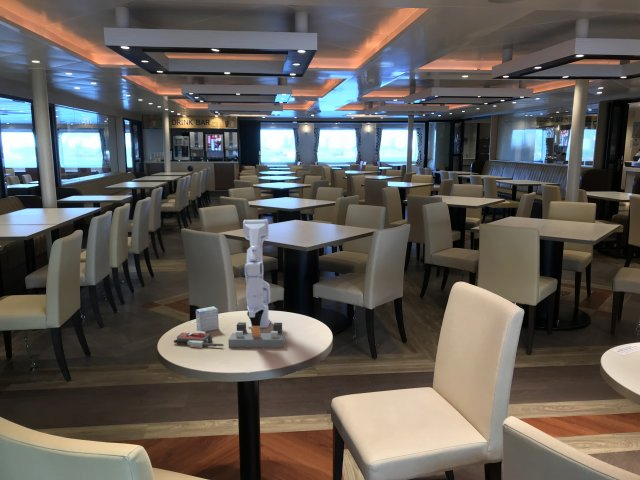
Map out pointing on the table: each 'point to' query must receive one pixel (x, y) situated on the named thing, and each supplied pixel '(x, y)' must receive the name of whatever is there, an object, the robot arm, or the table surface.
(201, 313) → the medicine box
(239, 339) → the power strip
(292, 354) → the table surface
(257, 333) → the orange rectangular block
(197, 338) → the walkie-talkie
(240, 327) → the plug
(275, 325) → the plug
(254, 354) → the table surface
